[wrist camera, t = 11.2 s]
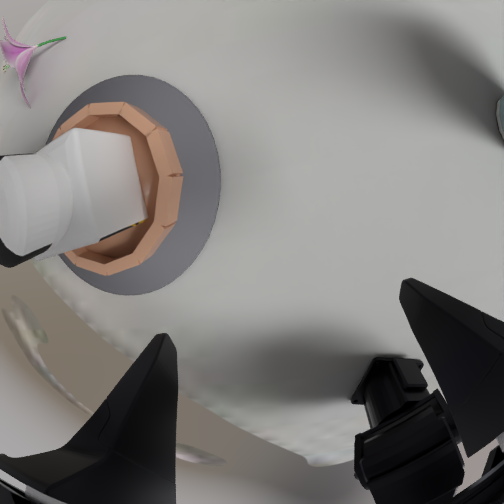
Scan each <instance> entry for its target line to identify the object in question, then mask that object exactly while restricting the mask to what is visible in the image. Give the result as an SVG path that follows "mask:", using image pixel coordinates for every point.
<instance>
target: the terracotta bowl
mask: <svg viewBox="0 0 504 504" xmlns="http://www.w3.org/2000/svg"><path fill="white" fill-rule="evenodd" d="M60 127H61V128H58V130H57V132H56V134H55V136H54V138H53V140H55V139H56V138H58V137H59V136H61V135H62V134H64V133H66V132H67V131H69V130H70V129H73V128H82V129H90V130H97V131H104V132H111V133H117V134H123V135H128V136H130V138H131V142H132V147H133V152H134V157H135V162H136V167H137V172H138V176H139V181H140V185H141V189H142V194H143V198H144V202H145V206H146V210H147V214H148V219H147V220H146V221H145V222H143V223H140V224H138V225H136V226H133V227H131V228H129V229H126V230H124V231H122V232H120V233H117V234H115V235H113V236H111V237H109V238H106V239H104V240H102V241H100V242H98V243H95V244H91V245H88V246H84V247H81V248H78V249H74V250H71V251H68V252H64V254H65V255H66V256H67V257H68V258H69V259H70V261H71V262H72V263H73V264H74V265H75V264H76V266H77V267H80V268H83V269H86V270H89V271H92V272H95V273H98V274H102V275H105V276H106V275H108V276H109V275H112V274H115V273H117V272H120V271H123V270H126V269H129V268H132V267H134V266H137V265H140V264H141V263H142V262H144V261H145V260H147V259H148V258H149V257H151V256H152V255H153V254H154V253H155V251H156V250H157V248H158V247H159V246H160V244H161V243H162V241H163V240H164V239H165V237H166V236H167V235H168V233H169V232H170V231H171V229H172V228H173V227H174V225H175V224H176V223H175V221H177V217H178V209H179V202H180V195H181V189H182V182H183V176H181V174H182V173H183V171H182V168H181V165H180V162H179V159H178V156H177V154H176V151H175V148H174V145H173V142H172V139H171V136H170V133H169V132H167V129H166V128H165V127H164V126H162V125H161V124H160V123H158V122H157V121H156V120H155V119H153V118H152V117H151V116H150V115H148V114H147V113H146V112H144V111H143V110H142V109H140V108H139V107H137V106H134V105H131V104H129V103H125V102H105V103H90V105H86V106H85V107H83V108H82V109H81V110H80V111H78V112H77V113H76V114H74V115H73V116H72V117H71V118H69V119H68V120H67V121H66V122H64V123H63V124H62V125H61V126H60ZM53 140H52V141H53Z"/></svg>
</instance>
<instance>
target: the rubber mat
mask: <svg viewBox="0 0 504 504" xmlns="http://www.w3.org/2000/svg"><path fill="white" fill-rule="evenodd" d="M105 102H125V103H129V104H131V105H134V106H137V107H139V108H140V109H142V110H143V111H144V112H146V113H147V114H148V115H150V116H151V117H152V118H153V119H155V120H156V121H157V122H158V123H160V124H161V125H162V126H164V127H165V128H166V129H167V132H169V133H170V136H171V139H172V142H173V145H174V148H175V151H176V154H177V156H178V159H179V162H180V165H181V168H182V171H183V173H182V174H181V176H183V182H182V189H181V195H180V202H179V209H178V217H177V221H175V223H176V224H175V225H174V227H173V228H172V229H171V231H170V232H169V233H168V235H167V236H166V237H165V239H164V240H163V241H162V243H161V244H160V246H159V247H158V248H157V250H156V251H155V253H154V254H153V255H152V256H151V257H149V258H148V259H147V260H145V261H144V262H142V263H141V264H140V265H137V266H134V267H132V268H129V269H126V270H123V271H120V272H117V273H115V274H112V275H109V276H108V275H106V276H105V275H102V274H98V273H95V272H92V271H89V270H86V269H83V268H80V267H77V266H76V264H75V265H74V264H73V263H72V262H71V261H70V259H69V258H68V257H67V256H66V255H65V254H64V253H61V254H59V256H60V257H61V259H62V260H63V261H64V262H65V264H66V265H67V266H68V267H69V268H70V269H71V270H72V271H73V272H74V273H75V274H76V275H77V276H79V277H80V278H81V279H82V280H84V281H85V282H87V283H88V284H90V285H92V286H94V287H96V288H98V289H100V290H103V291H105V292H109V293H113V294H118V295H140V294H145V293H150V292H152V291H155V290H158V289H160V288H162V287H164V286H166V285H167V284H169V283H171V282H172V281H174V280H175V279H176V278H178V277H179V276H180V275H181V274H182V273H183V272H184V271H185V270H186V269H187V268H188V267H189V266H190V265H191V264H192V263H193V262H194V260H195V259H196V257H197V256H198V255H199V253H200V252H201V250H202V249H203V247H204V245H205V243H206V241H207V239H208V237H209V235H210V232H211V230H212V227H213V224H214V222H215V218H216V213H217V209H218V205H219V196H220V166H219V159H218V153H217V149H216V145H215V142H214V138H213V136H212V133H211V131H210V129H209V127H208V124H207V122H206V121H205V119H204V117H203V116H202V114H201V113H200V111H199V110H198V108H197V107H196V106H195V105H194V104H193V103H192V101H191V100H190V99H189V98H188V97H187V96H185V95H184V94H183V93H182V92H181V91H179V90H178V89H177V88H175V87H173V86H172V85H170V84H168V83H166V82H164V81H162V80H159V79H156V78H153V77H148V76H143V75H125V76H118V77H114V78H111V79H107V80H104V81H102V82H100V83H98V84H96V85H94V86H92V87H91V88H89V89H88V90H86V91H85V92H83V93H82V94H81V95H80V96H78V97H77V98H76V99H75V100H74V101H73V102H72V103H71V104H70V105H69V106H68V107H67V108H66V110H65V111H64V112H63V114H62V115H61V116H60V118H59V119H58V121H57V122H56V124H55V126H54V128H53V129H52V131H51V134H50V136H49V138H48V140H47V143H46V145H47V144H49V143H50V142H52V140H53V138H54V136H55V134H56V132H57V130H58V128H61V127H60V126H61V125H62V124H63V123H64V122H66V121H67V120H68V119H69V118H71V117H72V116H73V115H74V114H76V113H77V112H78V111H80V110H81V109H82V108H83V107H85V106H86V105H90V103H105Z"/></svg>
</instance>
